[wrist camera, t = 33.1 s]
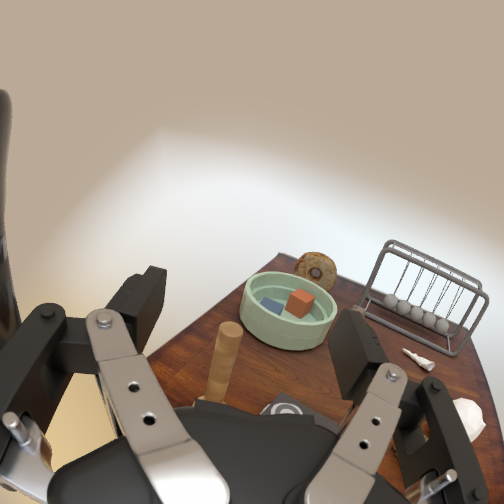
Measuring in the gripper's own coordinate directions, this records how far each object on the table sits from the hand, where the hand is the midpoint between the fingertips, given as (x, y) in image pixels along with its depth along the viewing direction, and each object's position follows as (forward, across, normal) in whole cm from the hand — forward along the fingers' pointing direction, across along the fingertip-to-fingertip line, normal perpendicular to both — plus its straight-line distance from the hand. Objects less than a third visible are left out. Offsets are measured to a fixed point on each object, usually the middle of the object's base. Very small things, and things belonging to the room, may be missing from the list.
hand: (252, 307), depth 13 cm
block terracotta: (+39, -15, +25) cm, 49 cm away
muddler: (+10, 0, +25) cm, 27 cm away
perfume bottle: (+6, -39, +25) cm, 47 cm away
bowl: (+35, -12, +26) cm, 45 cm away
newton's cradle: (+41, -46, +26) cm, 67 cm away
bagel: (+50, -19, +26) cm, 60 cm away
